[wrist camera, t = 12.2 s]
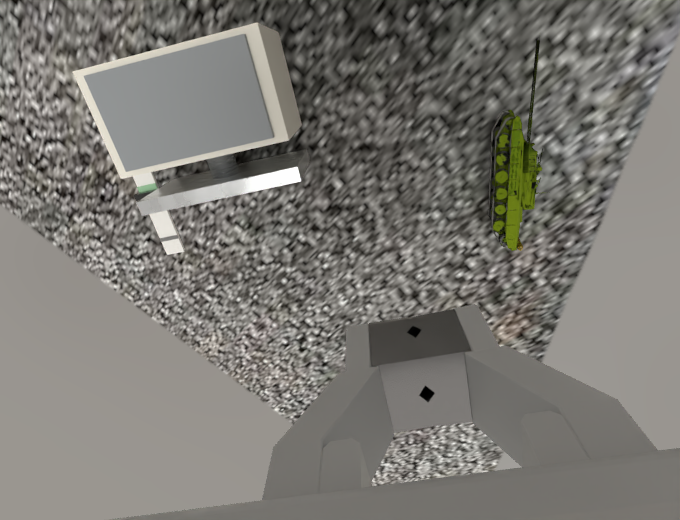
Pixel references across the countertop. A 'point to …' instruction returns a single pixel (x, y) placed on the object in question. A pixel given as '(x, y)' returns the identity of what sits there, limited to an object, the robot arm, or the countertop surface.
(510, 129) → the toy tank
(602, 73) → the countertop surface
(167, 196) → the plate
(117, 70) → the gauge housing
